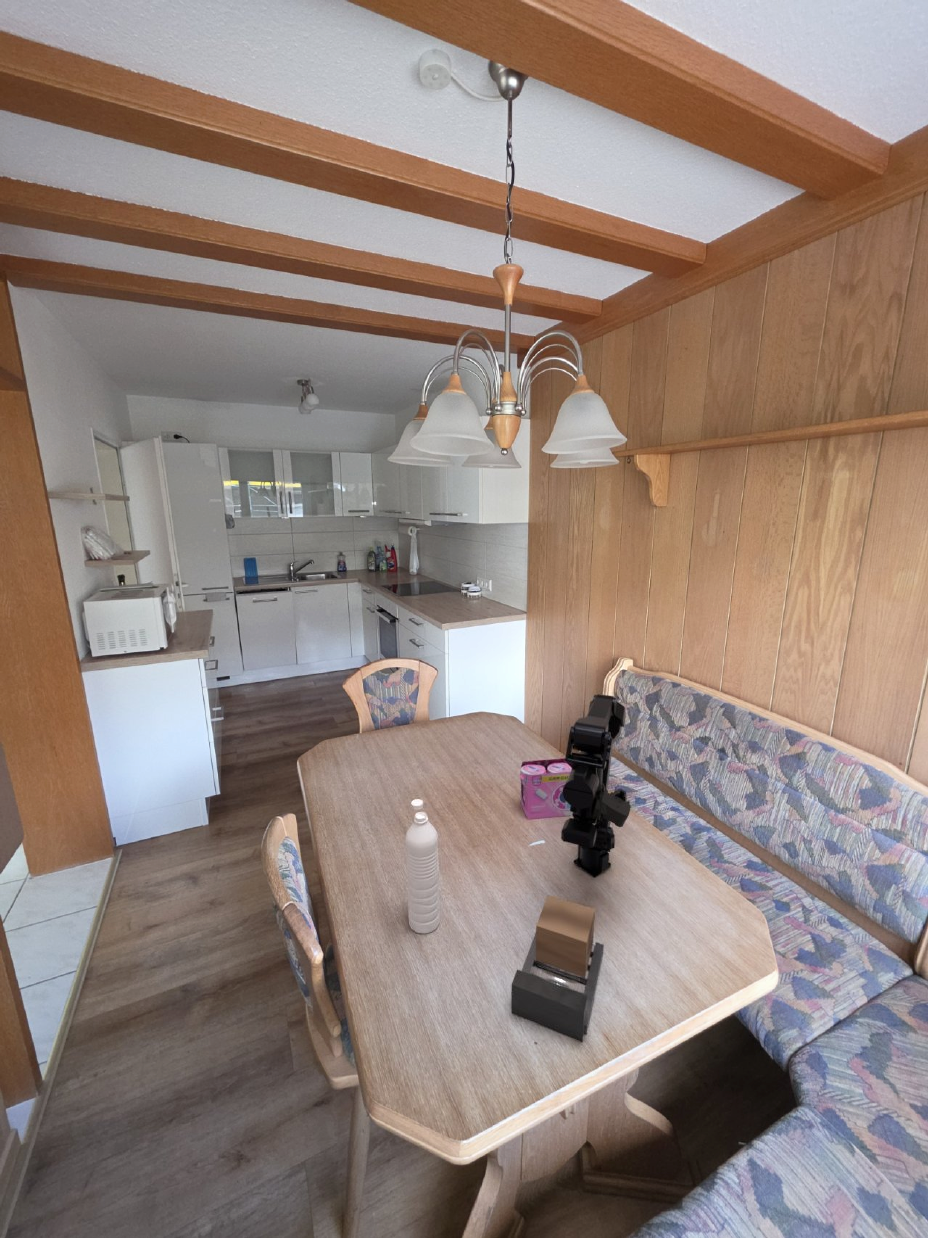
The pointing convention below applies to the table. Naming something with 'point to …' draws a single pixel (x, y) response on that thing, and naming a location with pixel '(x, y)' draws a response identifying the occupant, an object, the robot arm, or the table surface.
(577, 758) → the robot arm
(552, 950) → the brown cardboard box
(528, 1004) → the roller bed
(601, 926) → the table surface
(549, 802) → the gum box
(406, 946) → the table surface
